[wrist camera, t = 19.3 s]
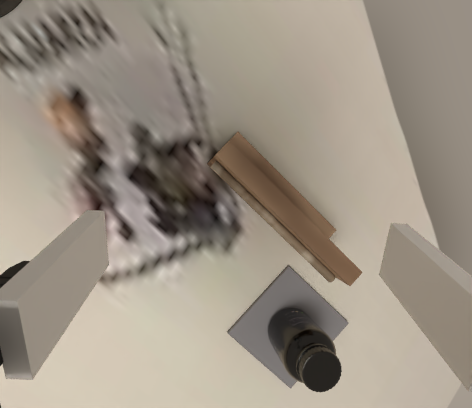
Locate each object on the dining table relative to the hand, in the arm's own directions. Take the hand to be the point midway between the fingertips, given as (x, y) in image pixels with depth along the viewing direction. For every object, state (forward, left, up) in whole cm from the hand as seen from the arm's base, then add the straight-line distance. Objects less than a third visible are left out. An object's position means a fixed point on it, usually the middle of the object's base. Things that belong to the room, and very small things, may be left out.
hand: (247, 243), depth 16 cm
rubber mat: (+5, -21, -32) cm, 39 cm away
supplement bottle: (+5, -21, -32) cm, 39 cm away
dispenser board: (+9, -3, -32) cm, 34 cm away
